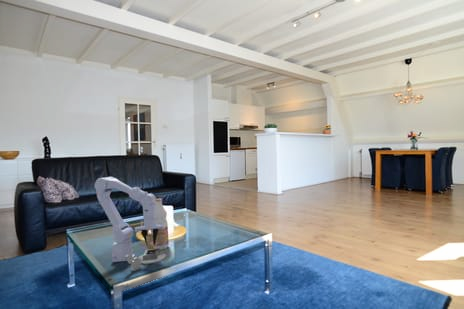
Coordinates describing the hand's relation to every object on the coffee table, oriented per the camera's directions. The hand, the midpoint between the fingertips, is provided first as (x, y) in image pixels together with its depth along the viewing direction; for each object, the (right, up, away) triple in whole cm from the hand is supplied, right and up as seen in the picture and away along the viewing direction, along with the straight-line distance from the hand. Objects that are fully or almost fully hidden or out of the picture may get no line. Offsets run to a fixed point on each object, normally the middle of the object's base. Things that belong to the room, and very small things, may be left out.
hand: (150, 244), depth 142 cm
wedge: (0, -2, 0) cm, 2 cm away
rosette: (0, -7, 0) cm, 7 cm away
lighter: (-4, -8, -14) cm, 16 cm away
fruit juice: (+1, -8, +17) cm, 19 cm away
